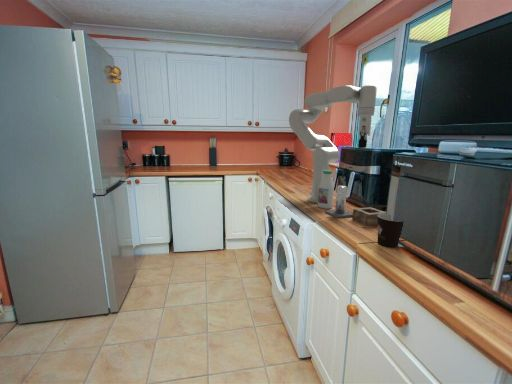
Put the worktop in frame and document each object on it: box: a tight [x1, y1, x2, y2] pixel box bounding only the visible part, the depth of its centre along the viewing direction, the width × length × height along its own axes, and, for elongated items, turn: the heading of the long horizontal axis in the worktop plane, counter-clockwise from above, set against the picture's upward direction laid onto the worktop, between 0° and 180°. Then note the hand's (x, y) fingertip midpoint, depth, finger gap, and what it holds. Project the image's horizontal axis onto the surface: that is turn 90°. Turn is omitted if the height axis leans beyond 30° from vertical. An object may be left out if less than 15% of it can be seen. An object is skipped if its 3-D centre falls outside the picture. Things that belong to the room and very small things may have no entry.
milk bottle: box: [317, 169, 335, 210], centre depth 138 cm, size 8×8×20 cm
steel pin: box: [334, 185, 348, 214], centre depth 126 cm, size 4×4×13 cm
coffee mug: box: [377, 213, 404, 249], centre depth 92 cm, size 12×9×10 cm
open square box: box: [351, 206, 387, 227], centre depth 117 cm, size 10×10×5 cm
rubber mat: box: [324, 209, 353, 219], centre depth 127 cm, size 10×10×1 cm
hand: (362, 147), depth 130 cm, fingers open, 9 cm apart
